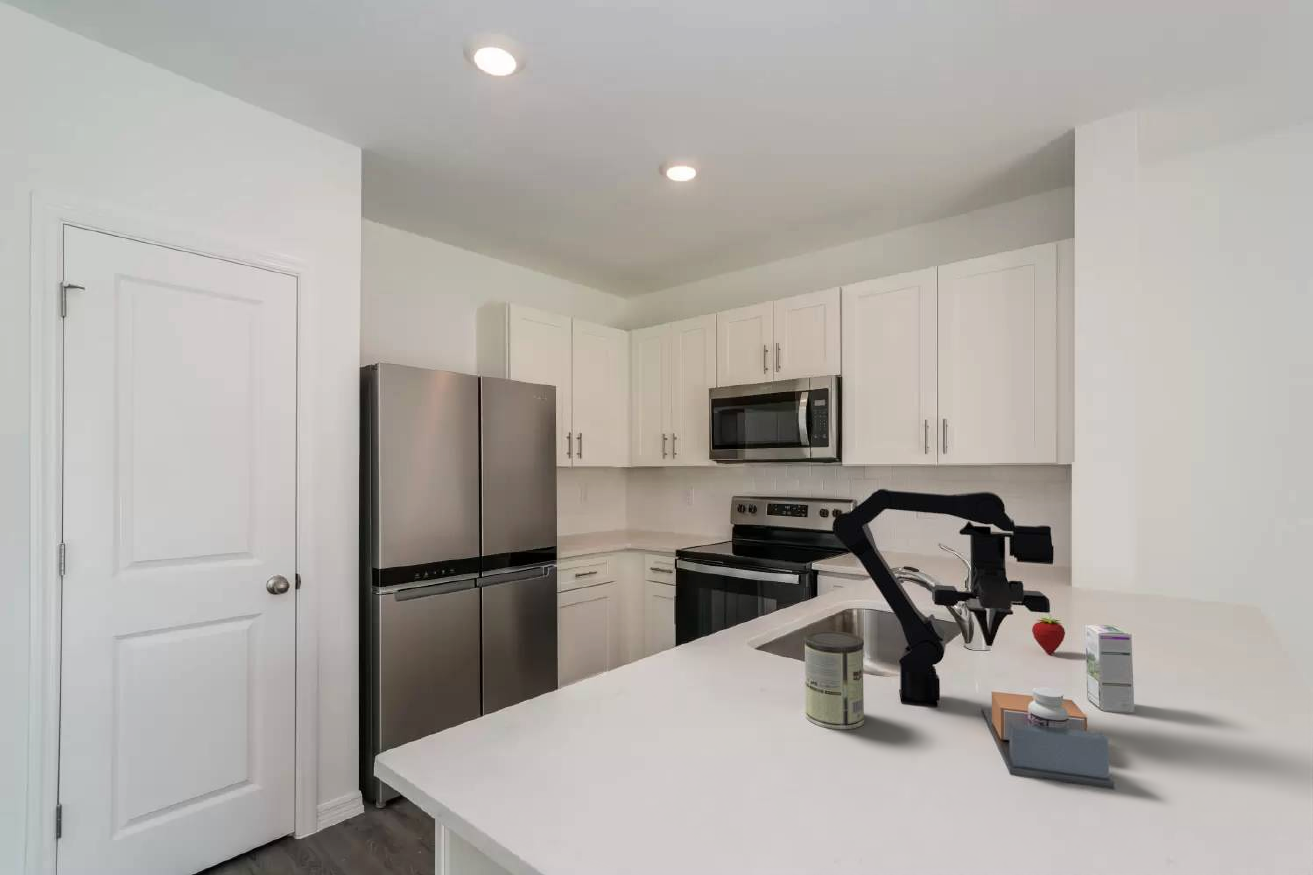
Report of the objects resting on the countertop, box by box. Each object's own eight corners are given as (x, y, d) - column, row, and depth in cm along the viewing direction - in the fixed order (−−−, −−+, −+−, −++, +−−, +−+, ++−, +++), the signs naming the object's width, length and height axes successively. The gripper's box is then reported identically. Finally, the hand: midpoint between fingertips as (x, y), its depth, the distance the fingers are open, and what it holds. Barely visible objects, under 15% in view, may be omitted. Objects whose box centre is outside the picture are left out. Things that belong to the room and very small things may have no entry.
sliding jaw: (991, 720, 109) (991, 691, 109) (1072, 730, 106) (1071, 699, 106) (1001, 740, 102) (1001, 708, 102) (1088, 751, 98) (1088, 718, 98)
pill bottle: (1020, 747, 100) (1019, 685, 100) (1052, 746, 100) (1051, 684, 100) (1044, 764, 94) (1043, 698, 95) (1078, 763, 95) (1076, 697, 95)
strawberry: (1025, 651, 153) (1025, 609, 154) (1051, 649, 155) (1050, 608, 155) (1046, 659, 148) (1045, 615, 148) (1072, 656, 149) (1071, 613, 150)
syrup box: (1135, 713, 116) (1134, 633, 116) (1099, 711, 117) (1098, 631, 118) (1119, 702, 122) (1118, 625, 122) (1085, 699, 123) (1084, 623, 123)
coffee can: (810, 702, 120) (810, 627, 121) (867, 712, 116) (867, 634, 116) (798, 723, 111) (798, 641, 112) (860, 734, 107) (859, 649, 107)
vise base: (981, 712, 116) (980, 676, 116) (1063, 721, 112) (1062, 684, 112) (1010, 774, 93) (1009, 729, 94) (1114, 789, 89) (1113, 742, 90)
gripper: (937, 564, 113) (938, 653, 112) (1058, 570, 107) (1059, 664, 106) (931, 555, 123) (932, 636, 123) (1040, 560, 118) (1042, 645, 117)
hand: (988, 645), depth 117 cm, fingers closed
